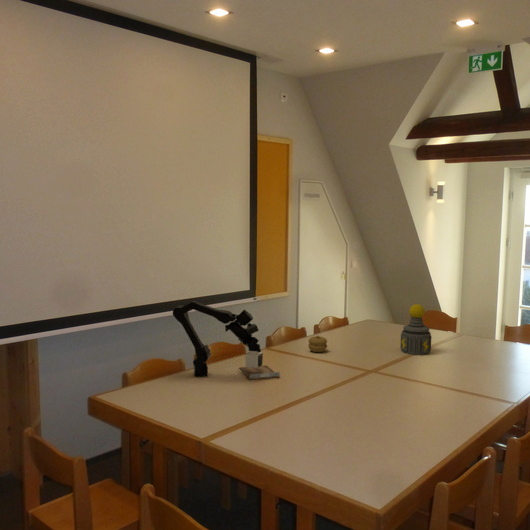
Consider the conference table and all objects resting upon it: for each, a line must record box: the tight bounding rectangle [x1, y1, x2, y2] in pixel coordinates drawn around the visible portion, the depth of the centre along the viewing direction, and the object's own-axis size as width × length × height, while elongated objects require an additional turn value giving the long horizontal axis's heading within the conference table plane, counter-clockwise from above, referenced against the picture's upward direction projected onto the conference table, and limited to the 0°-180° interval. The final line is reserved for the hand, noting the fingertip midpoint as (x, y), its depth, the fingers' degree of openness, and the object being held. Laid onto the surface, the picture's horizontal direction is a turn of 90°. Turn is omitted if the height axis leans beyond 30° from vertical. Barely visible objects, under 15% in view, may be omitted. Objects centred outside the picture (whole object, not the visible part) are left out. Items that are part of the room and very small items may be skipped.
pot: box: [307, 335, 328, 353], centre depth 354 cm, size 12×12×10 cm
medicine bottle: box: [245, 343, 263, 368], centre depth 301 cm, size 7×7×12 cm
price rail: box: [249, 371, 281, 379], centre depth 295 cm, size 16×2×2 cm, turn 108°
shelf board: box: [238, 364, 281, 381], centre depth 305 cm, size 16×22×1 cm
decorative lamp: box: [400, 303, 432, 356], centre depth 355 cm, size 19×19×30 cm
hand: (258, 350), depth 302 cm, fingers closed on medicine bottle, 6 cm apart
